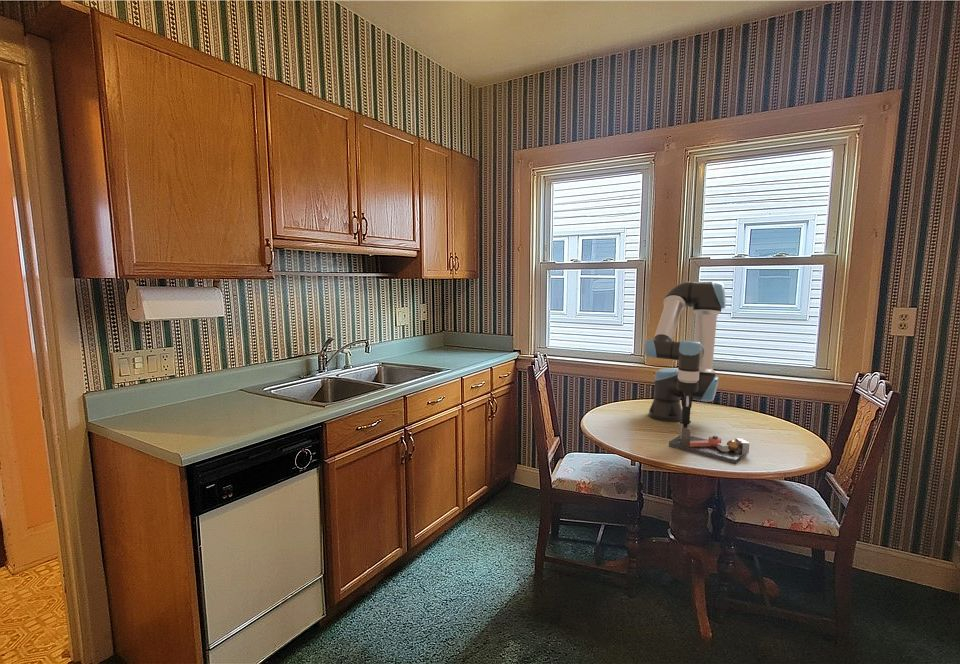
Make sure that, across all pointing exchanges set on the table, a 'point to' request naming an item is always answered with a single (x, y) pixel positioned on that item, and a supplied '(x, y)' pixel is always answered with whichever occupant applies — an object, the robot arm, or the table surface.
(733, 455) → the base
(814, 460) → the table surface
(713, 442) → the lever
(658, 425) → the table surface
